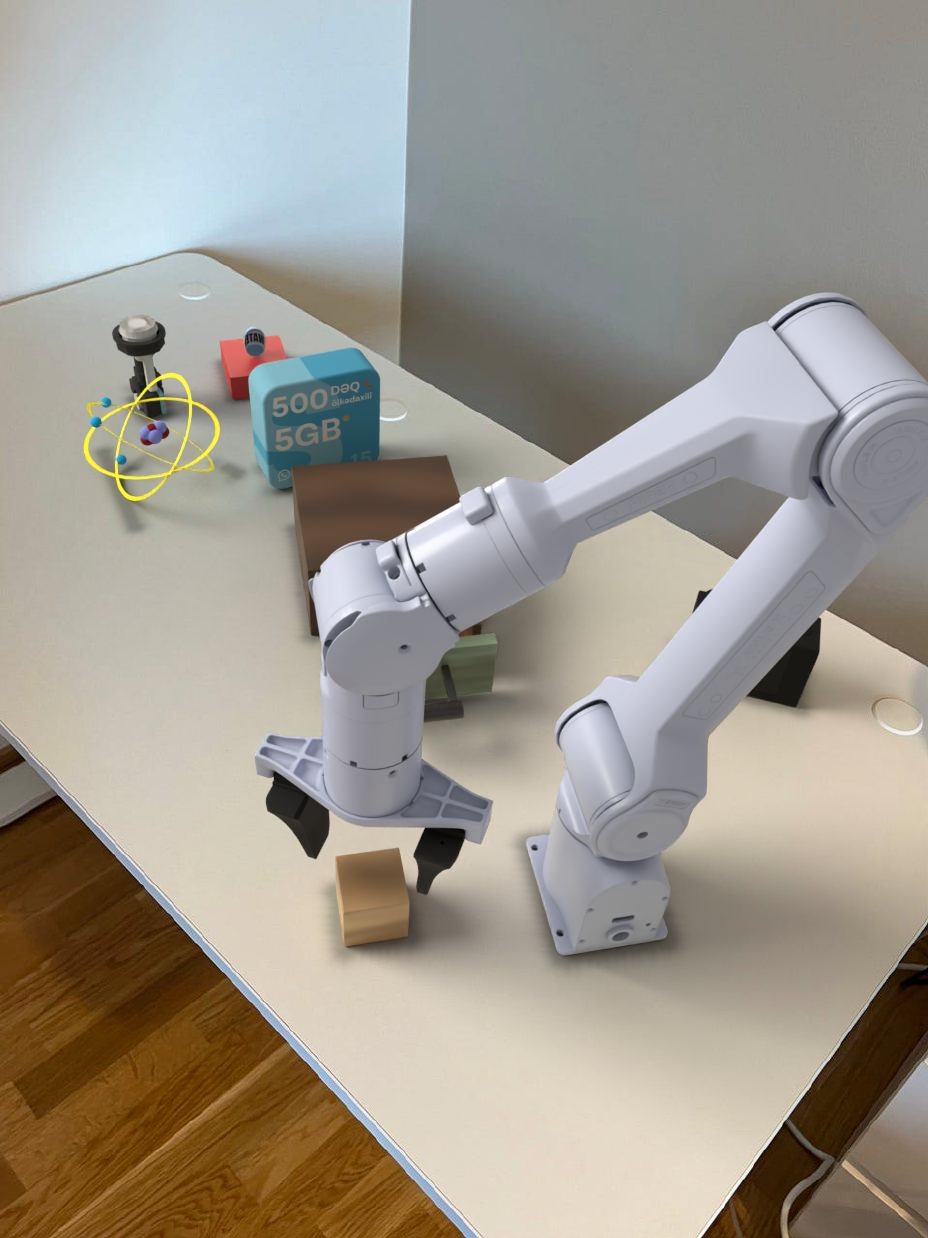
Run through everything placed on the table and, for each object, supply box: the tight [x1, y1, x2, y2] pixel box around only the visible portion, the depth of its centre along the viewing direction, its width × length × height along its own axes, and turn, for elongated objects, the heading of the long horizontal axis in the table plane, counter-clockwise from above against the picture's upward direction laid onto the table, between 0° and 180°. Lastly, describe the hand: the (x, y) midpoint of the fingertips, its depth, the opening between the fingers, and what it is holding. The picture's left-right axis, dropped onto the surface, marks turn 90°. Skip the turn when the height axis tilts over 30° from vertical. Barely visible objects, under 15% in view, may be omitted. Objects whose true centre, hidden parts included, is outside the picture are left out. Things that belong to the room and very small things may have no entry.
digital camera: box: [691, 588, 822, 708], centre depth 91 cm, size 10×5×7 cm, turn 74°
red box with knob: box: [219, 326, 288, 401], centre depth 120 cm, size 8×7×6 cm
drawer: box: [423, 621, 498, 724], centre depth 88 cm, size 19×13×6 cm
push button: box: [111, 314, 167, 419], centre depth 114 cm, size 7×5×10 cm
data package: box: [248, 346, 381, 490], centre depth 107 cm, size 12×4×12 cm, turn 116°
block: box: [334, 847, 411, 947], centre depth 73 cm, size 4×4×4 cm
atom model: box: [83, 372, 221, 502], centre depth 104 cm, size 14×15×14 cm
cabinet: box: [291, 454, 461, 636], centre depth 97 cm, size 15×15×8 cm
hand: (371, 863), depth 70 cm, fingers open, 7 cm apart
